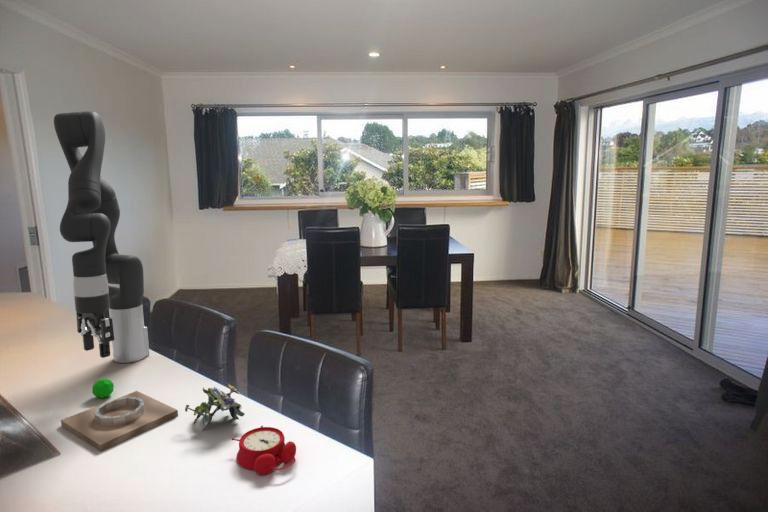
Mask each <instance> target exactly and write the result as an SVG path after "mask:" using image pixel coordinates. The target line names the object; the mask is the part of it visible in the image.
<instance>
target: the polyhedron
mask: <svg viewBox="0 0 768 512" xmlns="http://www.w3.org/2000/svg"><path fill="white" fill-rule="evenodd" d="M114 388H115V383H114V382H113V381H112V380H111V379H108V378H104V377H103V378H100V379H98V380H96V381H95V382H94V383H93V384H92V390H91V391H92V392H91V393H92V394H93V396H94V397H98V398H101V399H105V398H108V397H109V396H111V395H112V393H114ZM107 396H108V397H107ZM104 397H105V398H104Z"/></svg>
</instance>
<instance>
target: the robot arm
mask: <svg viewBox="0 0 768 512" xmlns="http://www.w3.org/2000/svg"><path fill="white" fill-rule="evenodd" d="M53 125H54V130H55V134H56V137H57V140H58V143H59V144H60V147H61V149H62V152H63V154H64V157H65V159H66V162H67V165H68V167H69V169H70V175H69V177H68V181H67V183H68V185H67V189H68V191H67V192H68V197H67V198H68V199H67V205H66V207H65V211H64V213H63V215H62V218H61V220H60V223H59V224H60V225H59V233H60V235H61V236H62V238H63V239H64V240H65V241H67V242H69V243H85V242H86V243H87V242H88V243H89V242H92V245H93V247H91V248H89V249H85V250H81V251H80V250H79V251H78V252H75V253H73V255H72V257H71V262H72V263H71V264H72V272H73V273H72V274H73V283H72V284H73V285H72V286H73V297H74V307H75V312H76V313H75V315H76V329H77V333H78V334H80V336H81V337H82V342H83V350H85V351H87V352H88V351H92V350H94V349H95V340H94V337H95V338H97V341H98V349H99V357H100V358H102V359H104V358H107V357H110V356H111V347H112V355H113V362H115V363H119V364H128V363H129V364H130V363H134V362H139V361H141V360H143V359H144V358H146V357H148V356H150V347H149V346H150V344H149V334H148V333H149V332H148V327H147V326H145V321H144V320H145V319H144V318H145V317H144V309H143V297H144V294H145V293H144V291H145V289H144V288H145V285H144V266H143V264H142V263H143V262H142V261H141V259H140V258H139V257H138V256H135V255H131V254H128V255H127V254H120V253H119V251H118V248H117V244H116V240H115V236H116V230H117V228H118V224H119V220H120V216H121V209H120V205H119V203H118V199H117V195H116V192H115V190H114V188H113V186H112V185H110V183H109V182H107V181H106V180H105V179H104V178H103V177H102V176H101V171H102V165H103V160H104V152H105V145H106V131H105V125H104V122H103V120H102V118H101V116H100V115H99V113H97V112H95V111H89V110H88V111H86V110H85V111H73V112H72V111H71V112H62V113H61V112H60V113H56V114H55V116H54V117H53ZM79 148H86V151H85V152H84V154H83V155H82V154H81V151H80V149H79ZM111 284H112V285H118V286H119V287H118V289H119V291H118V294H114V295H112V296H111V297H110V292H109V291H110V290H109V289H110V288H109V285H111ZM106 311H108V312H109V314H108V315H109V317H107V318H106V315H105V312H106ZM110 342H111V343H112V345H110Z"/></svg>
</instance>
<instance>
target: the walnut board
mask: <svg viewBox="0 0 768 512" xmlns="http://www.w3.org/2000/svg"><path fill="white" fill-rule="evenodd" d="M124 397H138V398H140V399H142V400H144V414H142V415H141V416H140V417H139V418H138V419H136V420H134V421H131V422H129V423H127V424H122V425H117V426H101V425H99V424H97V423H95V415H94V414H95V409H96V408H98V407H99V406H100V405H102V404H103V403H102V404H99V405H96V406H94V407H91V408H88V409H86V410H84V411H80V412H78V413H76V414H73V415H70V416H68V417H65V418H63V419H60V424H61V427H62V428H64V429H66V430H67V431H69V433H72V434H73V435H75V436H76V437H78V438H80V439H81V440H83V441H84V442H86V443H88V444H89V445H90V446H92V447H93V448H95V449H96V450H98V451H99V452H103V451H105V450H106V449H109V448H111V447H114V446H116V445H117V444H120V443H121V442H124V441H126V440H129V439H131V438H133V437H134V436H137V435H140V434H141V433H144V432H146V431H147V430H150V429H152V428H154V427H157V426H159V425H160V424H163V423H165V422H168V421H170V420H172V419H174V418H176V417H178V416H179V412H178V411H179V410H178V409H176V408H174V407H173V406H170V405H168V404H166V403H164V402H161V401H160V400H157V399H155V398H153V397H150V396H149V395H146V394H144V393H142V392H140V391H139V390H135V391H132V392H130V393H128V394H125V395H122V396H120V397H117V398H116V399H118V398H124ZM136 408H137V407H136V406H124V407H119V408H115V409H112V410H110V411H107V412H106V413H104V414H103V416H118V415H123V414H126V413H129V412H131V411H134V410H135V409H136Z"/></svg>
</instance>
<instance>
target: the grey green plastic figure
mask: <svg viewBox="0 0 768 512" xmlns="http://www.w3.org/2000/svg"><path fill="white" fill-rule="evenodd" d="M226 386H227V387H228V388H229V389H230V390H229V392H228V393H225V392H224V391H223V390H221V389H219V388H217V387H216V386H213V387H212V388H211V387H208V388H207V389H205V386H204V387H202V392H203V393H204V394H206V395H207V396H208V400H207V401H205V402H204V401H203V402H201V403H200V405H197V406H196V407H195V408H194V409H193V408H190V405H189V404H186V405H185V407H184V411H185V412H186V413H187V412H188V410H190V411H192V412H193V416H196V418H195V419H194V421H193V426H195V425H196V423H197V422H198V420H199V419H200V418H201V416H202V417H203V418H204V419H203V423H204V424H203V428H202V431H203V432H204V430H205V428H206V426H207V425H209V424H210V422H211V421H212V419H213V417H214V416H215V414H216V413H217V412H218V411H222V412H224V411H228V412H229V414H230V416H231V418H232V419H233V420H240V418H239V417H244V416H245V412H243V411H241V409H242V408H243V407H242V404H240V403H238V402H237V401H236V400H235V398H233V397H231V394H232V393H235V394H238V395H240V392H239V390H238V389H237V388H236V387H235V386H234V385H232V384H231V383H228V382H227V383H226ZM213 406H214V407H216V408H215V409H214V410H213V412H211V409H212V407H213Z"/></svg>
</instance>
